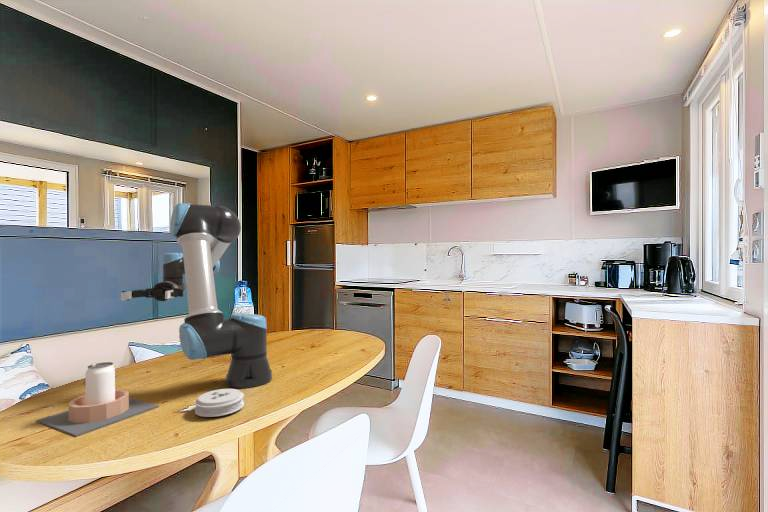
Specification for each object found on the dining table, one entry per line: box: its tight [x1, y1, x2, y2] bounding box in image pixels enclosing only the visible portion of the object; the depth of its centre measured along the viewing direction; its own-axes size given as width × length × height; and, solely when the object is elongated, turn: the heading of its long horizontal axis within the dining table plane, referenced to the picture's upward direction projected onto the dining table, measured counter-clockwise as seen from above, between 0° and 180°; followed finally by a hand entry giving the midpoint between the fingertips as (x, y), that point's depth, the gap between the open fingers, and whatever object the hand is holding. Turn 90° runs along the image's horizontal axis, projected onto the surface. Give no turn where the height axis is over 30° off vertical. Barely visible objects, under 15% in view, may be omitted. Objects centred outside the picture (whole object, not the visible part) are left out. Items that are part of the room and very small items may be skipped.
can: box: [85, 361, 116, 406], centre depth 103 cm, size 6×6×12 cm
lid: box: [194, 388, 245, 418], centre depth 104 cm, size 13×13×5 cm
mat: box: [35, 397, 160, 437], centre depth 103 cm, size 20×20×1 cm
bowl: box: [67, 389, 130, 423], centre depth 103 cm, size 13×13×4 cm
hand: (144, 295), depth 129 cm, fingers open, 13 cm apart
